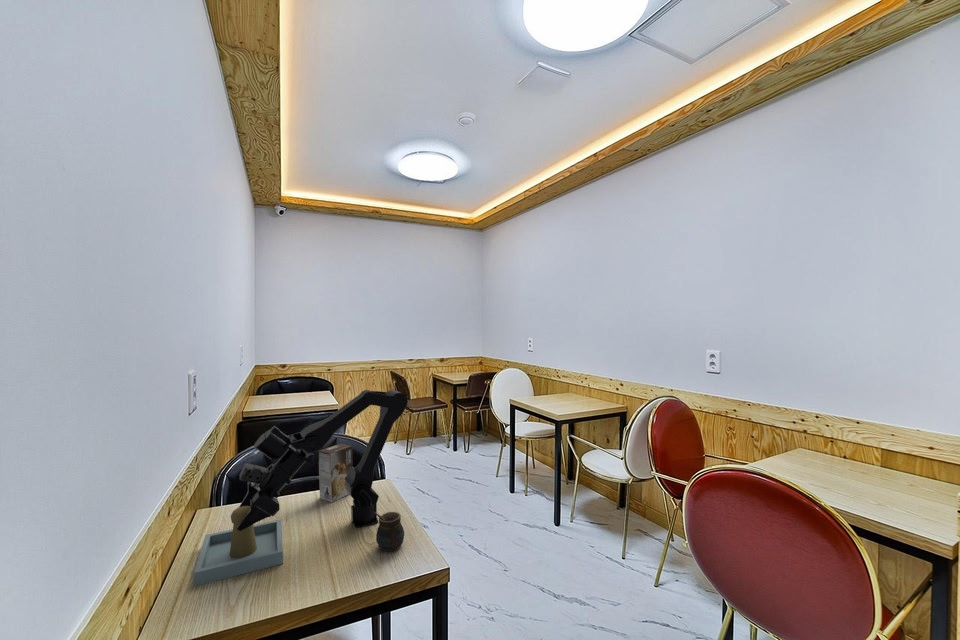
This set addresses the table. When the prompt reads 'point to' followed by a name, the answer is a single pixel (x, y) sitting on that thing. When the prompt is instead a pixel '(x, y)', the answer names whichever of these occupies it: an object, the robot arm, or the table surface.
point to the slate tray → (220, 565)
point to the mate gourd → (389, 531)
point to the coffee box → (334, 471)
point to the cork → (242, 535)
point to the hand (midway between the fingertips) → (237, 521)
